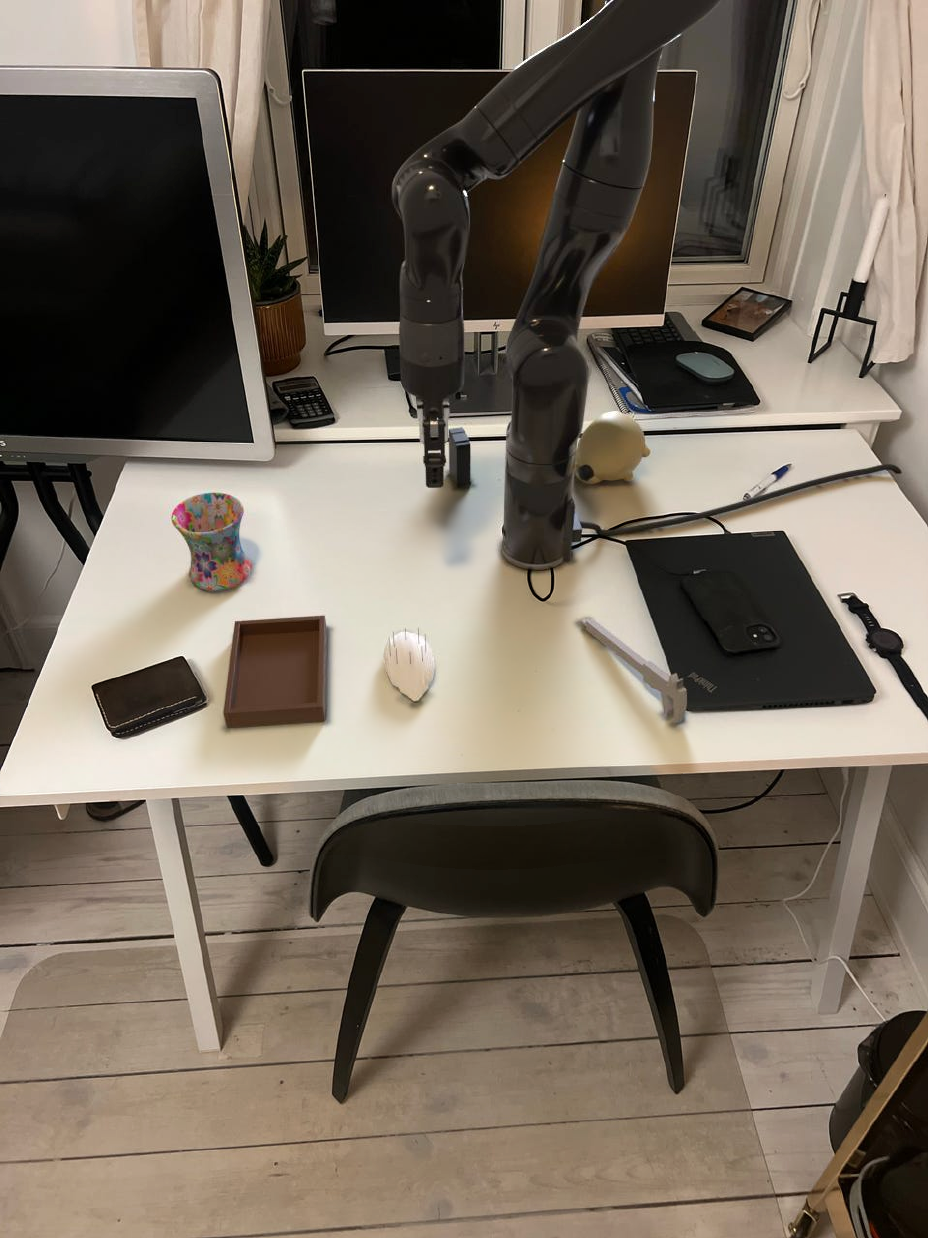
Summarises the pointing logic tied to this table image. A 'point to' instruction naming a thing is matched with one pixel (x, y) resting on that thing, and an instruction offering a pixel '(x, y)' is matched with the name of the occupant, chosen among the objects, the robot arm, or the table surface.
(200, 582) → the mug
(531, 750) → the table surface
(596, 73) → the robot arm
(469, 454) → the ink cartridge
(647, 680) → the caliper
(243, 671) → the tray
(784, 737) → the table surface
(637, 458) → the toy pig
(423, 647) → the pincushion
